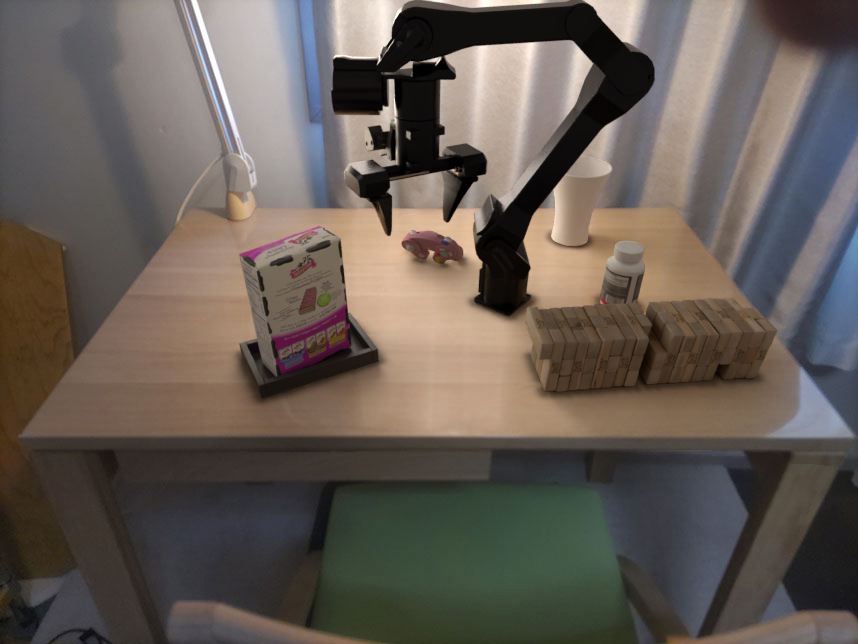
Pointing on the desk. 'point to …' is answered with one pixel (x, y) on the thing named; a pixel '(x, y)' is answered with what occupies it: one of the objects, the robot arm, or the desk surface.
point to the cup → (578, 199)
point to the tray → (338, 363)
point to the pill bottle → (623, 274)
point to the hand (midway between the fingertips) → (417, 228)
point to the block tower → (647, 343)
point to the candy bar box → (298, 299)
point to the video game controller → (432, 246)
